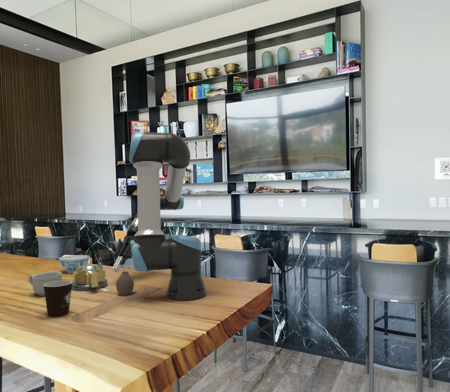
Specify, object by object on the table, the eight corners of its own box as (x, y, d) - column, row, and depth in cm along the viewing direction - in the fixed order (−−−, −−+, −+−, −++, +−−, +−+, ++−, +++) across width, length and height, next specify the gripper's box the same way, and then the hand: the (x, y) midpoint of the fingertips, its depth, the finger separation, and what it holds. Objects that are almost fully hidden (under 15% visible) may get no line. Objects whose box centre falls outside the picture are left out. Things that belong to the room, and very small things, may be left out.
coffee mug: (53, 319, 112) (53, 288, 112) (38, 315, 116) (38, 284, 116) (85, 309, 121) (85, 280, 122) (70, 306, 126) (70, 277, 126)
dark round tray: (104, 289, 148) (104, 268, 148) (66, 291, 146) (66, 269, 146) (110, 281, 163) (110, 262, 163) (75, 283, 161) (75, 263, 161)
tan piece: (72, 279, 157) (72, 267, 157) (101, 276, 163) (101, 264, 163) (78, 289, 140) (78, 275, 140) (110, 284, 146) (110, 272, 146)
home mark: (109, 291, 146) (109, 290, 146) (106, 291, 145) (106, 291, 145) (102, 289, 149) (102, 288, 149) (99, 289, 148) (99, 289, 148)
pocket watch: (81, 279, 169) (81, 258, 169) (94, 275, 177) (94, 255, 177) (95, 280, 166) (95, 259, 166) (107, 276, 173) (107, 256, 174)
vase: (129, 296, 137) (128, 274, 137) (112, 296, 139) (112, 273, 139) (137, 292, 144) (136, 270, 144) (121, 291, 145) (121, 270, 146)
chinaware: (69, 268, 195) (69, 254, 195) (94, 269, 193) (94, 255, 193) (52, 274, 180) (52, 259, 180) (80, 275, 178) (79, 259, 178)
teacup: (67, 292, 146) (67, 272, 146) (44, 299, 136) (44, 278, 136) (44, 288, 151) (44, 270, 152) (20, 295, 142) (20, 275, 142)
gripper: (152, 234, 173) (131, 275, 157) (128, 234, 178) (107, 274, 162) (145, 224, 168) (124, 266, 152) (122, 224, 173) (98, 264, 157)
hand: (115, 270), depth 157 cm, fingers closed
